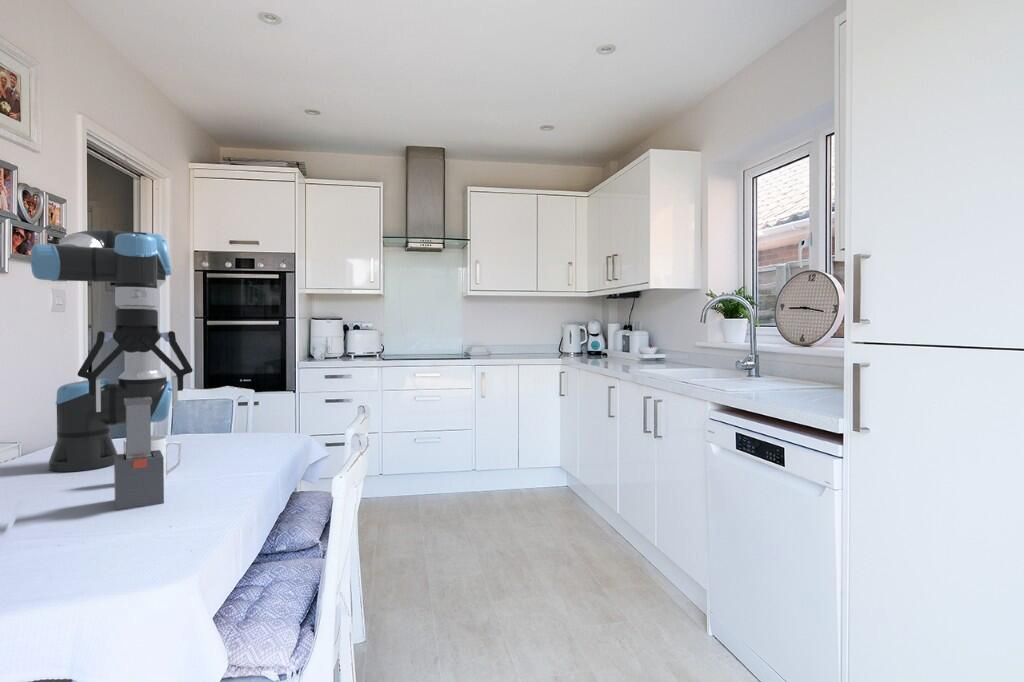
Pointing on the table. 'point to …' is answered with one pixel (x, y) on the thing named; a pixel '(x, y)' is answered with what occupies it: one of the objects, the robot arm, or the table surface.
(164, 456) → the mug
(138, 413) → the column
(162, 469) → the stand
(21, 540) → the table surface
